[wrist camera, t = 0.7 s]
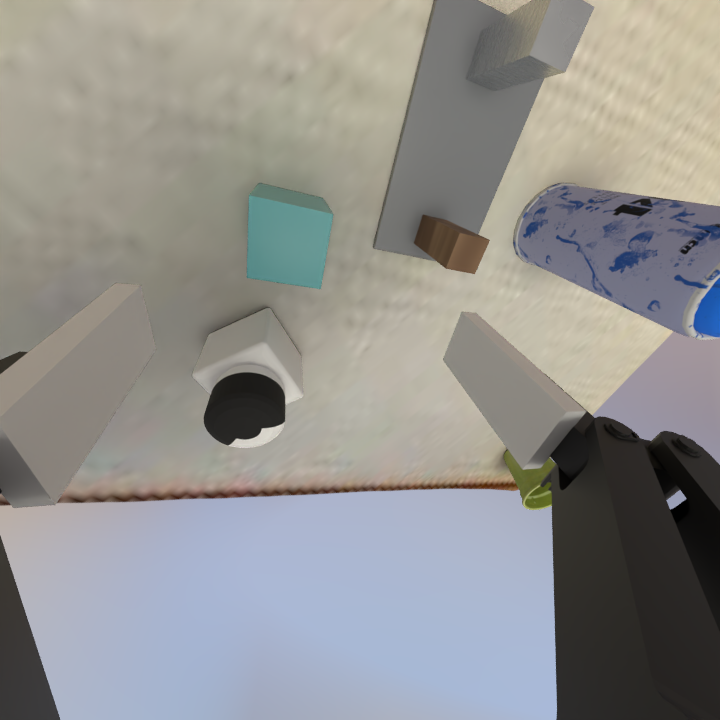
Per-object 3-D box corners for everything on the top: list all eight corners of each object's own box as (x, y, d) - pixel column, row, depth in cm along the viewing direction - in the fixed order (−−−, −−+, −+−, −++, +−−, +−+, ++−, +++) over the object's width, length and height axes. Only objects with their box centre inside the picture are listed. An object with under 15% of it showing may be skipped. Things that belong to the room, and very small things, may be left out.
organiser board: (373, 246, 29) (374, 248, 28) (437, -15, 20) (441, -19, 19) (461, 264, 32) (464, 266, 31) (553, 44, 23) (559, 41, 22)
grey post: (462, 80, 23) (529, 55, 16) (476, 33, 21) (556, -15, 15) (490, 92, 24) (565, 72, 17) (506, 47, 22) (594, 7, 16)
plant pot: (486, 468, 57) (514, 512, 50) (507, 435, 52) (541, 479, 45) (527, 464, 59) (559, 507, 52) (551, 432, 54) (589, 474, 47)
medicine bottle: (207, 333, 31) (170, 418, 21) (269, 305, 30) (260, 379, 21) (247, 380, 35) (231, 469, 25) (302, 356, 34) (307, 437, 25)
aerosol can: (596, 176, 29) (974, 214, 13) (571, 257, 34) (825, 357, 18) (522, 189, 28) (823, 243, 12) (506, 269, 33) (710, 384, 17)
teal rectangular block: (256, 248, 27) (246, 277, 21) (259, 182, 24) (249, 195, 18) (313, 258, 28) (320, 288, 22) (322, 198, 26) (333, 214, 19)
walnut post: (411, 241, 29) (445, 268, 23) (420, 213, 28) (459, 232, 21) (435, 246, 30) (474, 274, 24) (444, 219, 29) (489, 240, 22)
